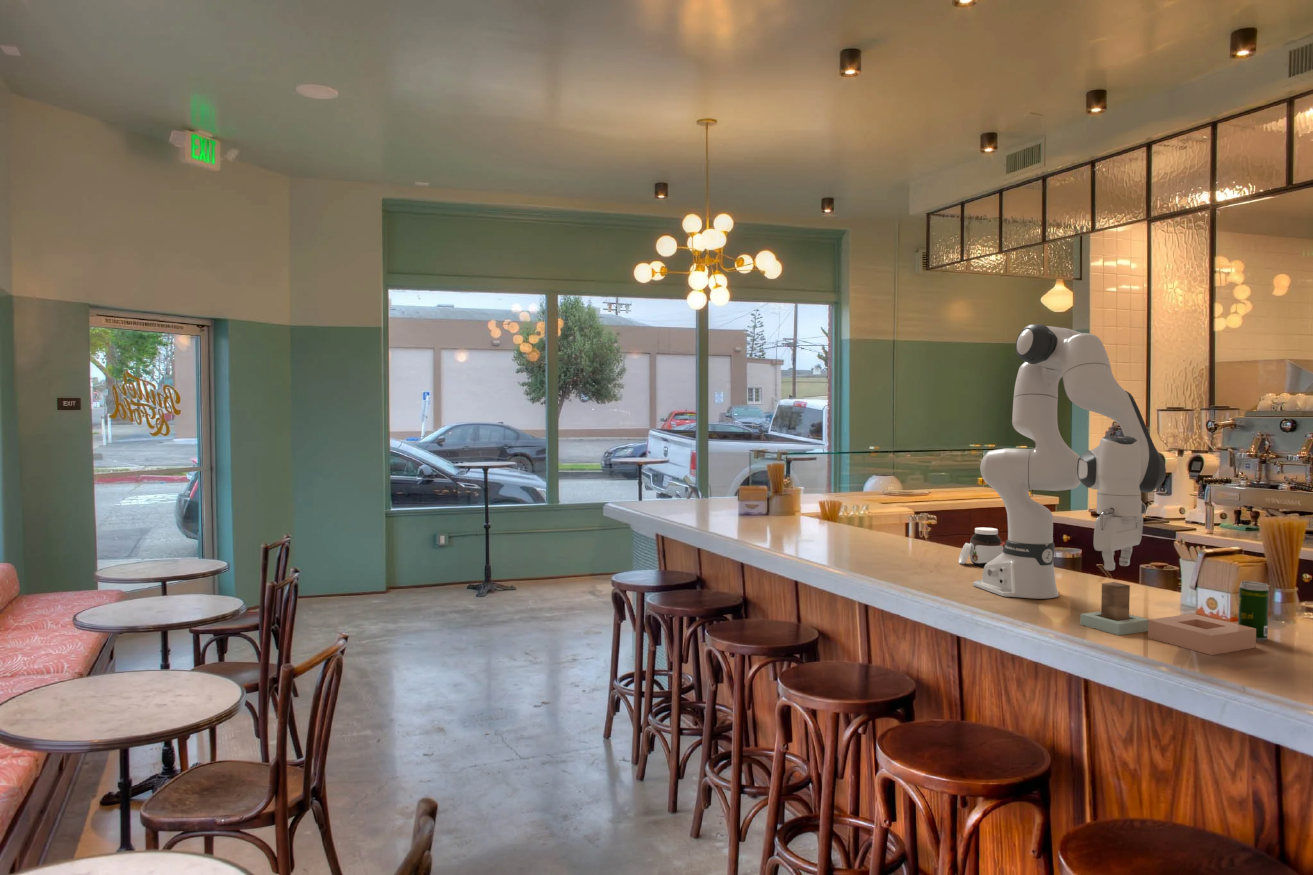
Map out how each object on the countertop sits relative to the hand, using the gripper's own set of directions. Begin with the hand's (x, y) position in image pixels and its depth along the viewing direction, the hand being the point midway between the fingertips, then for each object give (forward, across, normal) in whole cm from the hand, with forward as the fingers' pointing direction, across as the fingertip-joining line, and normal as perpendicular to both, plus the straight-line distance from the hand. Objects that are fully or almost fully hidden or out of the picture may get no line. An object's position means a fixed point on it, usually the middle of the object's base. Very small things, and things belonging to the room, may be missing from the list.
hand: (1117, 567), depth 195 cm
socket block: (+14, +1, -17) cm, 22 cm away
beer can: (+14, +13, -23) cm, 30 cm away
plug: (+14, +1, 0) cm, 14 cm away
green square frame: (+14, +1, 0) cm, 14 cm away
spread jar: (+12, +51, +58) cm, 78 cm away
